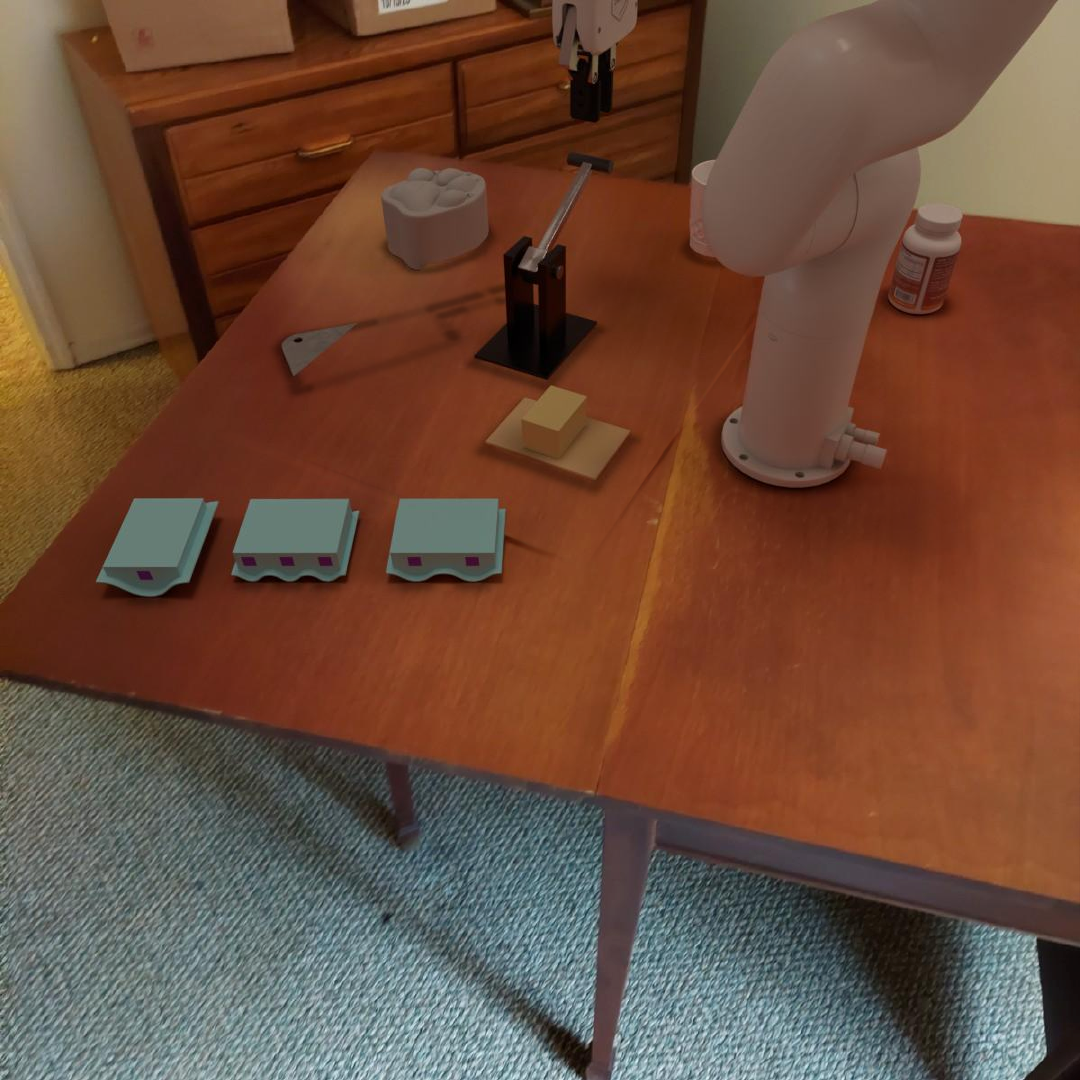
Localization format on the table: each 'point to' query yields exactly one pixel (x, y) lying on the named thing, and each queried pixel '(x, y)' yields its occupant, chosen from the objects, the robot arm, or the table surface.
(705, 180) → the white cup
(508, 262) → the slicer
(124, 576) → the corrugated panels
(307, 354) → the cleaver
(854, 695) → the table surface
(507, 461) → the table surface
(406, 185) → the lumpy-topped squat cylinder
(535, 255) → the lever
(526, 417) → the butter
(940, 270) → the pill bottle
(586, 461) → the board
